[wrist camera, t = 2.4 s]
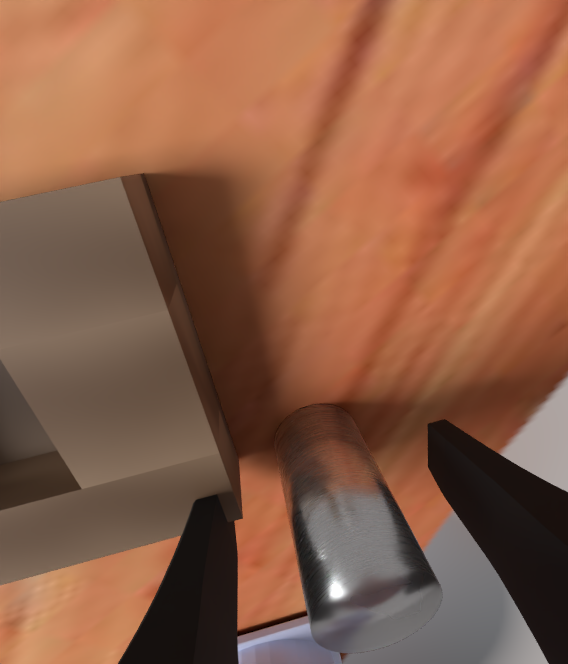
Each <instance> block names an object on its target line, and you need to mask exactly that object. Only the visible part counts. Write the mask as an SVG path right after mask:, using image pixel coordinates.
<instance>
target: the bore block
mask: <svg viewBox="0 0 568 664" xmlns="http://www.w3.org/2000/svg"><path fill="white" fill-rule="evenodd" d="M216 494H217V496H218V498H219V501H220V503H221V506H222V508H223V511H224V514H225V516H226V519H227V521H228V522H231V521H235V520H239V519H242V518H243V514H242V500H241V486H240V472H239V459H238V456H237V453H236V450H235V447H234V444H233V441H232V438H231V435H230V432H229V429H228V426H227V423H226V420H225V417H224V414H223V411H222V408H221V405H220V402H219V399H218V396H217V393H216V390H215V387H214V384H213V381H212V378H211V375H210V372H209V369H208V365H207V362H206V359H205V356H204V353H203V350H202V347H201V344H200V341H199V338H198V335H197V332H196V329H195V326H194V323H193V320H192V317H191V314H190V311H189V308H188V305H187V302H186V299H185V296H184V293H183V290H182V287H181V284H180V281H179V278H178V275H177V272H176V269H175V266H174V263H173V260H172V257H171V254H170V251H169V248H168V245H167V242H166V239H165V236H164V233H163V229H162V226H161V223H160V220H159V217H158V214H157V211H156V208H155V205H154V202H153V199H152V196H151V193H150V190H149V187H148V184H147V181H146V178H145V175H144V173H143V174H137V175H130V176H124V177H118V178H113V179H109V180H104V181H99V182H94V183H89V184H85V185H80V186H75V187H70V188H65V189H61V190H56V191H51V192H46V193H41V194H36V195H32V196H27V197H22V198H17V199H12V200H8V201H3V202H0V585H3V584H7V583H11V582H14V581H18V580H21V579H25V578H29V577H32V576H36V575H39V574H43V573H47V572H50V571H54V570H58V569H61V568H65V567H68V566H72V565H76V564H79V563H83V562H87V561H90V560H94V559H97V558H101V557H105V556H108V555H112V554H115V553H119V552H123V551H126V550H130V549H134V548H137V547H141V546H144V545H148V544H152V543H155V542H159V541H163V540H166V539H170V538H173V537H177V536H181V535H182V533H183V531H184V528H185V525H186V523H187V520H188V517H189V514H190V511H191V508H192V505H193V503H194V502H195V500H197V499H201V498H205V497H208V496H212V495H216Z"/></svg>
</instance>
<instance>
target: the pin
mask: <svg viewBox="0 0 568 664" xmlns="http://www.w3.org/2000/svg"><path fill="white" fill-rule="evenodd" d="M274 447H275V453H276V458H277V463H278V468H279V473H280V478H281V483H282V488H283V493H284V498H285V503H286V508H287V513H288V518H289V523H290V528H291V533H292V538H293V543H294V549H295V554H296V559H297V564H298V569H299V574H300V579H301V584H302V589H303V594H304V599H305V604H306V609H307V614H308V619H309V624H310V629H311V634H312V637H313V639H314V640H315V642H316V643H317V644H319V645H320V646H321V647H323V648H325V649H327V650H330V651H334V652H339V653H362V652H368V651H373V650H377V649H380V648H384V647H387V646H390V645H392V644H395V643H397V642H399V641H401V640H403V639H405V638H407V637H409V636H410V635H412V634H414V633H415V632H416V631H418V630H419V629H421V628H422V627H423V626H424V625H425V624H426V623H427V622H429V620H430V619H431V618H432V617H433V616H434V615H435V613H436V612H437V610H438V608H439V606H440V604H441V601H442V589H441V586H440V584H439V582H438V580H437V578H436V576H435V574H434V573H433V571H432V569H431V567H430V565H429V563H428V561H427V559H426V557H425V555H424V553H423V551H422V549H421V548H420V546H419V544H418V542H417V540H416V538H415V536H414V534H413V532H412V530H411V529H410V527H409V525H408V523H407V521H406V519H405V517H404V515H403V513H402V511H401V509H400V508H399V506H398V504H397V502H396V500H395V498H394V496H393V494H392V492H391V490H390V489H389V487H388V485H387V483H386V481H385V479H384V477H383V475H382V473H381V471H380V469H379V468H378V466H377V464H376V462H375V460H374V458H373V456H372V454H371V452H370V450H369V448H368V447H367V445H366V443H365V441H364V439H363V437H362V435H361V433H360V431H359V429H358V428H357V426H356V424H355V422H354V420H353V418H352V417H351V415H350V414H349V413H348V412H346V411H345V410H344V409H342V408H340V407H337V406H334V405H330V404H315V405H310V406H307V407H303V408H301V409H299V410H297V411H295V412H293V413H292V414H291V415H289V416H288V417H287V418H286V419H285V420H284V421H283V422H282V423H281V425H280V426H279V428H278V430H277V432H276V435H275V439H274Z"/></svg>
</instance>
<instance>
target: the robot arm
mask: <svg viewBox="0 0 568 664" xmlns="http://www.w3.org/2000/svg"><path fill="white" fill-rule="evenodd" d="M428 468H429V470H430V472H431V473H432V475H433V477H434V479H435V481H436V483H437V485H438V486H439V488H440V490H441V492H442V493H443V495H444V497H445V498H446V500H447V501H448V503H449V504H450V505H451V507H452V508H453V510H454V511H455V513H456V514H457V515H458V517H459V518H460V520H461V521H462V522H463V524H464V525H465V527H466V528H467V530H468V531H469V533H470V534H471V535H472V537H473V538H474V540H475V541H476V542H477V544H478V545H479V547H480V548H481V550H482V551H483V552H484V554H485V555H486V557H487V558H488V559H489V561H490V563H491V564H492V566H493V567H494V569H495V570H496V572H497V573H498V574H499V576H500V578H501V580H502V582H503V583H504V585H505V587H506V588H507V590H508V592H509V594H510V595H511V597H512V599H513V600H514V602H515V604H516V606H517V607H518V609H519V611H520V613H521V614H522V616H523V618H524V620H525V621H526V623H527V625H528V627H529V628H530V630H531V632H532V634H533V635H534V637H535V639H536V641H537V643H538V644H539V646H540V648H541V650H542V652H543V654H544V656H545V657H546V659H547V661H548V663H549V664H568V492H566V491H564V490H562V489H560V488H558V487H556V486H554V485H552V484H550V483H548V482H547V481H545V480H543V479H541V478H539V477H537V476H536V475H534V474H532V473H530V472H528V471H527V470H525V469H523V468H521V467H519V466H518V465H516V464H514V463H513V462H511V461H510V460H508V459H506V458H504V457H503V456H501V455H500V454H498V453H496V452H495V451H493V450H492V449H490V448H488V447H487V446H485V445H484V444H482V443H481V442H479V441H477V440H476V439H474V438H473V437H471V436H470V435H468V434H467V433H465V432H464V431H462V430H461V429H459V428H458V427H456V426H454V425H453V424H451V423H450V422H448V421H447V420H445V419H444V420H440V421H437V422H433V423H429V424H428ZM237 589H238V557H237V543H236V533H235V523H234V521H231V522H228V521H227V519H226V516H225V514H224V511H223V508H222V506H221V503H220V501H219V498H218V496H217V494H216V495H212V496H208V497H205V498H201V499H197V500H195V502H194V503H193V505H192V508H191V511H190V514H189V517H188V520H187V523H186V525H185V528H184V531H183V533H182V536H181V538H180V541H179V543H178V546H177V548H176V551H175V553H174V556H173V558H172V560H171V563H170V565H169V567H168V569H167V571H166V574H165V576H164V578H163V580H162V583H161V585H160V587H159V589H158V591H157V593H156V595H155V597H154V599H153V601H152V603H151V605H150V607H149V609H148V611H147V613H146V615H145V617H144V619H143V621H142V622H141V624H140V626H139V628H138V630H137V632H136V633H135V635H134V637H133V639H132V640H131V642H130V644H129V646H128V647H127V649H126V651H125V653H124V654H123V656H122V658H121V659H120V661H119V663H118V664H342V660H341V656H340V653H339V652H334V651H330V650H327V649H325V648H323V647H321V646H320V645H319V644H317V643H316V642H315V640H314V639H313V637H312V634H311V629H310V624H309V619H308V616H305V617H301V618H298V619H295V620H291V621H288V622H284V623H281V624H278V625H274V626H271V627H268V628H264V629H261V630H258V631H254V632H251V633H248V634H244V635H241V636H238V637H237Z"/></svg>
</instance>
